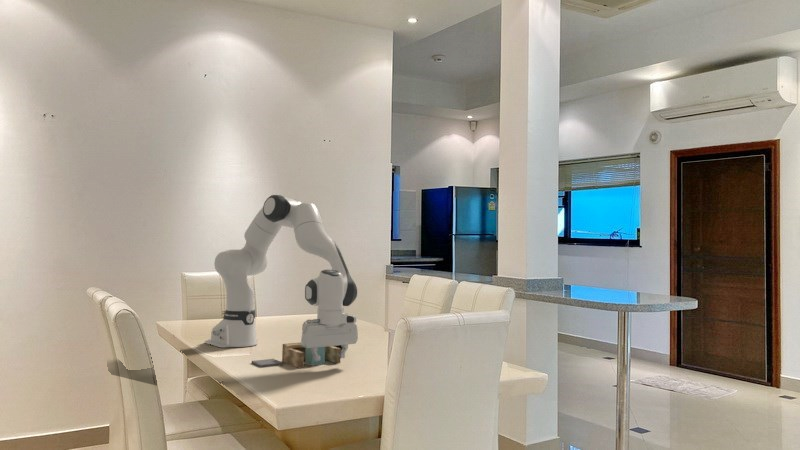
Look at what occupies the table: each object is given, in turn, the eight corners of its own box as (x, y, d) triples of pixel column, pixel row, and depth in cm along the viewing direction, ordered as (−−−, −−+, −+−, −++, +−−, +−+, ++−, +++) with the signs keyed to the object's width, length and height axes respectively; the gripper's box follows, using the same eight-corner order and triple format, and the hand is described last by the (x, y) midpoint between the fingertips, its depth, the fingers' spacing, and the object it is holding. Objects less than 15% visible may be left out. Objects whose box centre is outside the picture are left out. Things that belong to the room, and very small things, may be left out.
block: (305, 362, 206) (305, 342, 206) (317, 361, 209) (318, 341, 209) (311, 365, 202) (312, 345, 202) (324, 363, 205) (325, 343, 205)
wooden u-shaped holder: (282, 360, 208) (282, 344, 209) (321, 356, 218) (322, 340, 218) (299, 367, 198) (299, 349, 198) (340, 362, 207) (340, 345, 207)
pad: (251, 363, 204) (251, 360, 204) (273, 360, 208) (273, 358, 208) (260, 367, 197) (260, 365, 197) (282, 364, 202) (282, 362, 202)
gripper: (307, 321, 189) (306, 364, 189) (360, 317, 201) (359, 357, 201) (298, 318, 194) (297, 360, 194) (350, 315, 206) (350, 354, 206)
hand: (329, 359), depth 197 cm, fingers open, 8 cm apart
